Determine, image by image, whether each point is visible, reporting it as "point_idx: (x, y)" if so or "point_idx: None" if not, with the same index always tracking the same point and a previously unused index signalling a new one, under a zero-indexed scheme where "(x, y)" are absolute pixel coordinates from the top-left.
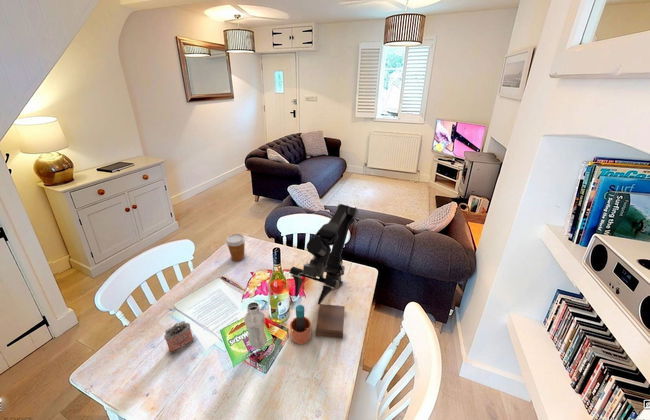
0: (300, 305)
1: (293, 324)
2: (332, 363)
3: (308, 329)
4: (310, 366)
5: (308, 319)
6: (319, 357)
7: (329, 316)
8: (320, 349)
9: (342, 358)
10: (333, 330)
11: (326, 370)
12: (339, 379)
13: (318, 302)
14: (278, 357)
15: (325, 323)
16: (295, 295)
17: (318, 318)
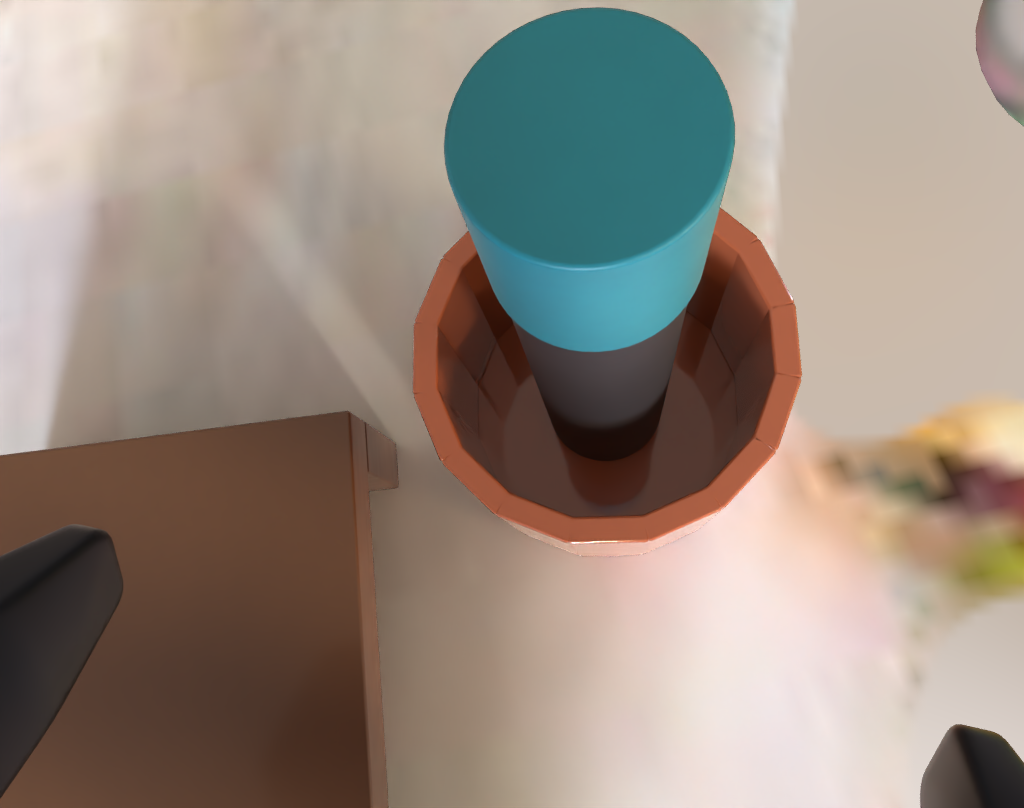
0: (607, 242)
1: (751, 418)
2: (142, 146)
3: (431, 284)
4: (372, 51)
5: (486, 496)
6: (293, 173)
7: (153, 726)
8: (298, 272)
9: (38, 230)
10: (69, 446)
11: (197, 59)
12: (62, 14)
13: (48, 559)
14: (774, 44)
15: (204, 549)
16: (1004, 758)
17: (340, 631)
